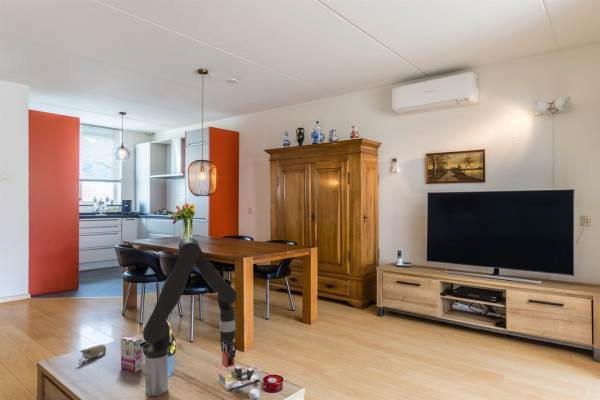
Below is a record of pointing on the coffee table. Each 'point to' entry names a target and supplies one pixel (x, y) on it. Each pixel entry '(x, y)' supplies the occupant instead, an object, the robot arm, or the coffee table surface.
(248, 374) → the toggle
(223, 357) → the cap
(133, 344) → the candy bar box
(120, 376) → the coffee table surface
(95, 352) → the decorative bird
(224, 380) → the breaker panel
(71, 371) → the coffee table surface
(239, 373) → the toggle
